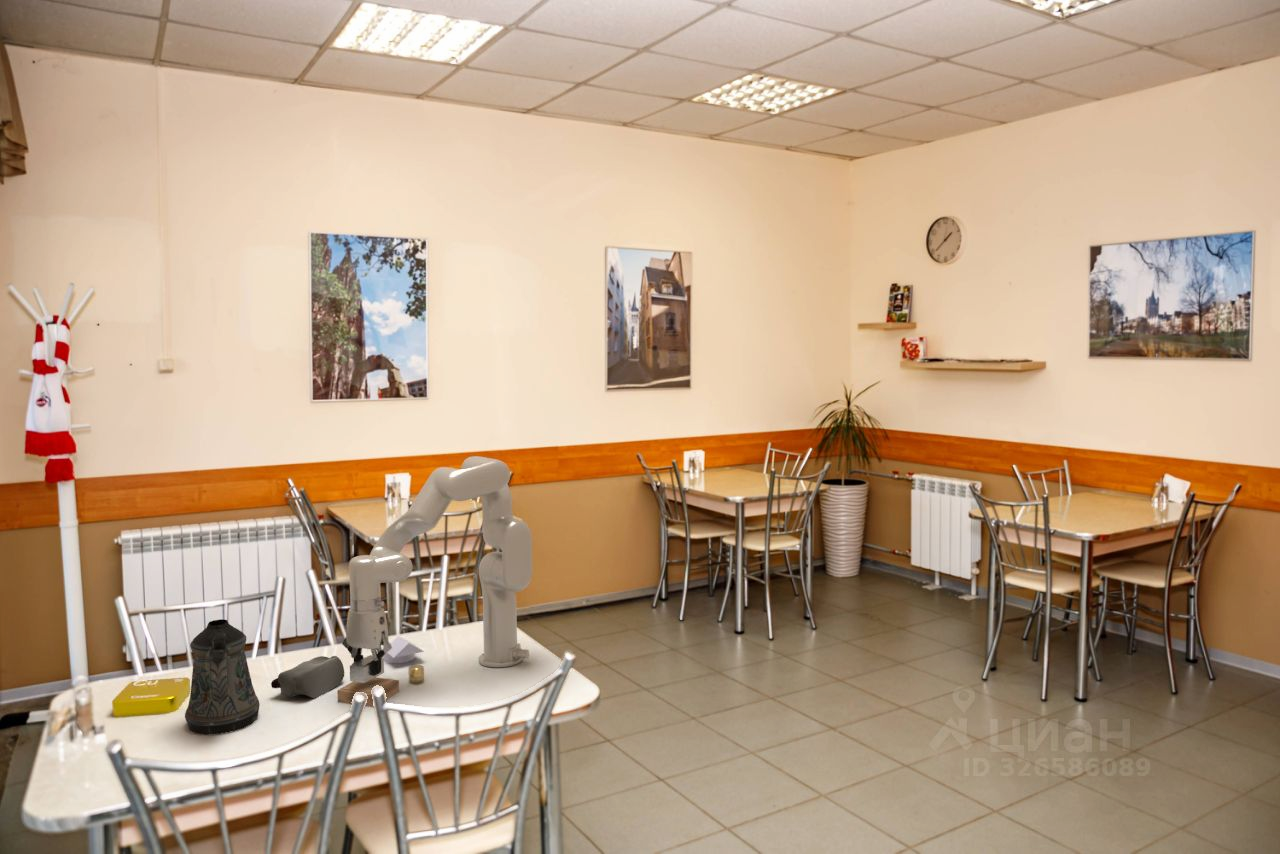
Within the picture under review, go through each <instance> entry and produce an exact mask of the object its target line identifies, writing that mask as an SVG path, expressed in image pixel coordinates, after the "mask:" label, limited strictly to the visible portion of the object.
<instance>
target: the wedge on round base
mask: <svg viewBox="0 0 1280 854" xmlns="http://www.w3.org/2000/svg"><path fill="white" fill-rule="evenodd" d="M389 643H390V644H391V646H392V649H391V650H389V651H388V652H387V653H386V654H385V655H384V656H383V657H382V658H384V663H388V664H389V663H390V664H401V663H406V662H409V661H412V660H414V659H415V657H416V654H419V653H423V652H424V651H425V650H423V649H422V648H420V647H418V646H417V645H416V644H414V643H413V642H411V641H409V640H407V639H405V638H404V637H402V636H400V635H397V636H396V637H395V638H394V639H393V640H392V641H391V642H389ZM383 648H384V646H383V647H382V649H383Z"/></svg>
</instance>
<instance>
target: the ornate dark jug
mask: <svg viewBox="0 0 1280 854" xmlns="http://www.w3.org/2000/svg"><path fill="white" fill-rule="evenodd" d="M246 642H247V636H246V634H245V633H244V632H243V631H241V630H240V629H239V628H236V627H235V626H233V625H232V624H230V623H229V621H228V619H215V620H210V621H208V623H207V626H206V628H204V629H203V630H202V631H201V632H200V633H198V634H197V635H196V636H195V637H194V638H193V639H192V640H191V642H190V645H189V646H190V650H191V652H192V654H193V663H192V673H191V682H190V692H191V693H190V695H189V701H188V704H187V709H186V710H185V713H184V719H185V722H186V723H187V726H188V727H187V728H188V731H189V730H190V731H189V732H191V731H192V733H193V732H194V733H193V734H196V733H197V735H203V734H204V736H207V735H208V736H209V734H210V736H212V735H222V734H221V733H223V734H226V733H225V732H228V733H231V732H230V731H233V732H236V731H238V729H239V730H242V729H244V727H245V728H247V727H248V725H249V726H251V725H252V724H254V723H255V722H256V721H257V720H258V716H259V711H260V706H261V705H260V699H259V697H258V696H257V694H256V692H255V689H254V686H253V682H252V677H251V674H250V669H249V665H248V661H247V660H248V659H247V655H246V651H245V646H246ZM256 719H257V720H256ZM255 720H256V721H255ZM254 721H255V722H254ZM253 722H254V723H253ZM246 726H247V727H246ZM235 730H236V731H235ZM211 734H212V735H211Z"/></svg>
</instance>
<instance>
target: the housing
mask: <svg viewBox="0 0 1280 854" xmlns="http://www.w3.org/2000/svg"><path fill="white" fill-rule="evenodd" d="M372 661H373V656H372V654H370V655H367V656H366V657H364V658H363V659H361V660H359V661H357V662H355V663H354V662H353V663H351V664H349V680H350V682H353V681H354V682H360V683H365V682H367V681H369V680H371V679H373V678H375V677H377V678H378V677H379V676H381V675H383V674H385V661H384V658H383V657H382V658H381V673H379V674H377V675H375V676H372V667H371V662H372Z"/></svg>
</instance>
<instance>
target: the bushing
mask: <svg viewBox="0 0 1280 854" xmlns="http://www.w3.org/2000/svg"><path fill="white" fill-rule="evenodd" d="M424 682H425V667H424V665H422V664H415V665H410V666H409V667H408V683H409V684H410V685H414V686H416V685H420V684H421V685H422V684H423V683H424Z"/></svg>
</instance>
